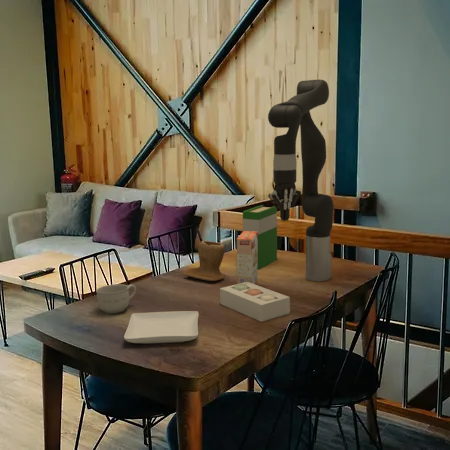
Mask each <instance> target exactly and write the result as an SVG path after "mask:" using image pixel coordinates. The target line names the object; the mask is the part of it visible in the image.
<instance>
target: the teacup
mask: <svg viewBox="0 0 450 450" xmlns="http://www.w3.org/2000/svg"><path fill="white" fill-rule="evenodd" d="M131 288H132V291H131V294H130V292H129V291H130V289H131ZM95 292H96V300H97V305H98V307H99V310H101V311H103V312H104V313H105V314H116V313H117V314H118V313H122V312H124V311H125V310H126V308H127V307H128V306H129V304H130V301H131V300H132V299H133V297H134V296H135V295H136V293H137V287H136V286H135V284H128V285H126V284H123V283H122V284H121V283H115V284H114V283H113V284H108V285H103V286H100V287H98V288H97V289H96V290H95Z"/></svg>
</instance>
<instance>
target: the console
mask: <svg viewBox="0 0 450 450" xmlns="http://www.w3.org/2000/svg"><path fill="white" fill-rule="evenodd" d="M240 284H245V285H247V289H246V290H242V291H238V290H236V289H235V288H234V286H235V285H237V283H236V284H233V285H227V286H223V287H220V288H219V303H220V305H223V306H225V307H226V308H229V309H231V310H234V311H236V312H238V313H240V314H243V315H244V316H248V317H250V318H252V319H253V320H256V321H259V322H261V323H262V322H265V321H269V320H272V319H275V318H278V317H282V316H286V315H288V314H291V297H290V296H288V295H285V294H283V293H279V292H276V291H275V290H272V289H268V288H265V287H263V286H260V285H258V284H257V285H255V284H252V283H249V282H244V283H240ZM249 289H259V290H260V291H261V294H259V295H255V296H251V295H249V294H247V290H249ZM263 294H272V295H274V300H271V301H264V300H261V295H263Z"/></svg>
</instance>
